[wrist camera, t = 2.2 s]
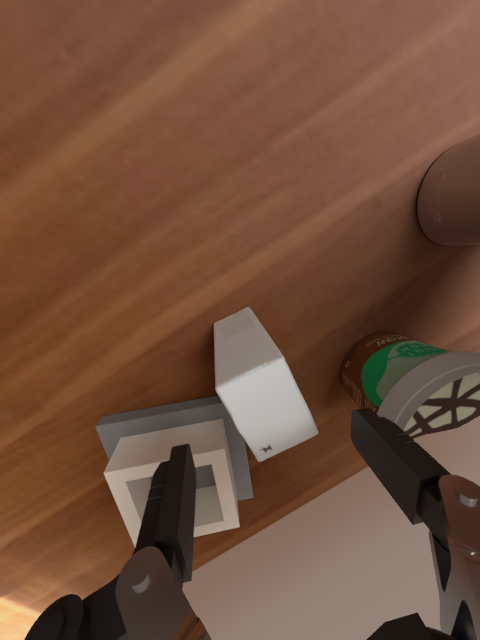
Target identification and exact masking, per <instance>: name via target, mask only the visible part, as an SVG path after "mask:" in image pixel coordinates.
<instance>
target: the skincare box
mask: <svg viewBox="0 0 480 640" xmlns="http://www.w3.org/2000/svg"><path fill="white" fill-rule="evenodd" d="M214 358H215V390H216V392H217V394H218V396H219V397H220V399H221V401H222V402H223V404H224V405H225V407H226V409H227V411H228V412H229V414H230V416H231V417H232V419H233V421H234V424H235V426H236V428H237V429H238V431H239V433H240V434H241V435H242V436H243V438H244V439H245V441H246V443H247V444H248V446H249V447H250V449H251V451H252V452H253V454H254V455H255V457H256V459H257V460H258V461H259V462H261V461H264V460H266V459H268V458H270V457H272V456H274V455H276V454H278V453H280V452H282V451H284V450H287V449H289V448H291V447H293V446H295V445H297V444H299V443H302V442H304V441H306V440H308V439H310V438H312V437H313V436H315V435H317V434H318V430H317V427H316V425H315V423H314V420H313V418H312V415H311V413H310V411H309V409H308V406H307V404H306V402H305V401H304V399H303V396H302V394H301V392H300V390H299V388H298V386H297V384H296V382H295V380H294V378H293V376H292V374H291V371H290V369H289V367H288V365H287V363H286V361H285V358H284V356H283V355H282V354H281V352H280V351H279V349H278V348H277V346H276V345H275V343H274V342H273V340H272V339H271V337H270V336H269V335H268V333H267V332H266V330H265V329H264V327H263V326H262V324H261V323H260V321H259V320H258V319H257V317H256V316H255V314H254V313H253V311H252V310H251V309H250V307H246V308H244V309H242V310H240V311H238V312H236V313H234V314H232V315H230V316H228V317H226V318H224V319H222V320H220V321H217V322H215V323H214Z"/></svg>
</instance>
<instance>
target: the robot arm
mask: <svg viewBox="0 0 480 640" xmlns="http://www.w3.org/2000/svg"><path fill="white" fill-rule="evenodd" d="M417 213H418V219H419V223H420V226H421V228H422V230H423V232H424V233H425V235H426V236H427V237H428V238H429V239H430V240H432V241H433V242H434V243H437V244H440V245H445V246H474V245H480V134H479V135H477V136H475V137H472V138H470V139H468V140H465V141H463V142H461V143H459V144H456V145H454V146H453V147H451V148H450V149H448V150H446V151H445V152H444V153H443V154H442V155H441V156H440V157H439V158H438V159H437V160H436V161H435V162H434V164H433V165H432V166H431V168H430V169H429V171H428V173H427V174H426V176H425V178H424V180H423V183H422V186H421V188H420V192H419V197H418V204H417ZM351 438H352V442H353V444H354V446H355V448H356V449H357V451H358V452H359V453H360V455H361V456H362V457H363V459H364V460H365V461H366V463H367V464H368V465H369V467H370V468H371V469H372V471H373V472H374V473H375V475H376V476H377V477H378V479H379V480H380V481H381V483H382V484H383V485H384V487H385V488H386V489H387V491H388V492H389V493H390V495H391V496H392V498H393V499H394V500H395V502H396V503H397V504H398V506H399V507H400V508H401V510H402V511H403V512H404V514H405V515H406V516H407V518H408V519H409V520H410V522H411V523H412V524H413V525H414V524H418V523H421V522H424V523H425V524H426V525H427V527H428V528H429V539H430V544H431V550H432V556H433V562H434V568H435V574H436V580H437V585H438V591H439V599H440V626H441V631H439V630H436V629H433V628H429V627H425V625H424V623H423V622H422V620H421V618H420V616H419V614H418V613H414V614H411V615H408V616H404V617H401V618H398V619H394V620H391V621H387V622H385V623H384V624H383V625H382V626H380V627H379V628H378V629H377V630H376V631H375V632H374V633H373V634H372V635H371V636H370V637H369V638H368V639H367V640H480V486H478V485H477V484H475V483H474V482H472V481H470V480H468V479H466V478H464V477H460V476H457V475H451V474H450V473H449V472H448V471H447V470H446V469H444V467H442V466H441V465H440V464H439V463H438V462H437V461H436V460H435V459H434V458H433V457H431V455H429V454H428V453H427V452H426V451H425V450H424V449H422V447H421V446H419V444H417V443H416V442H414V440H413V439H412V438H411V437H410V436H409V435H408V434H406V433H405V432H404V431H403V430H402V429H401V428H400V427H399V426H398V425H397V424H396V423H394V422H392V421H390V420H389V419H387V418H385V417H379V416H378V415H377V414H376V413H375V412H374V411H373V410H372V409H370V408H363V409H358V410H354V411H352V420H351ZM195 499H196V470H195V465H194V461H193V456H192V452H191V448H190V445H189V443H188V444H183V445H178V446H173V447H172V449H171V454H170V459H169V461H165V462H161V463H160V464H159V466H158V468H157V469H156V471H155V472H154V474H153V478H152V482H151V486H150V490H149V494H148V501H147V502H146V506H145V510H144V515H143V519H142V523H141V527H140V531H139V535H138V539H137V543H136V547H135V550H134V552H133V555H132V557H131V558H130V559H129V560H128V561H127V562H126V564H125V565H124V567H123V569H122V571H121V573H120V574H119V575H118V576H117V577H116V578H114V579H113V580H112V581H111V582H109V583H108V584H106V585H105V586H103V587H102V588H100V589H99V590H97V591H96V592H94V593H92V594H91V595H89V596H88V597H86V598H85V599H83V600H81V598H80V597H79V596H78V595H75V594H70V595H66V596H63V597H61V598H60V599H58V600H56V601H55V602H54V603H52V604H51V605H50V606H49V607H48V608H47V609H46V610H45V611H44V612H43V613H42V614H41V615H40V616H39V618H38V619H37V620H36V621H35V623H34V624H33V626H32V627H31V629H30V631H29V632H28V634H27V636H26V638H25V640H212V639H211V637H210V636H209V634H208V632H207V630H206V629H205V627H204V625H203V623H202V622H201V620H200V619H199V618H198V617H197V616H196V614H195V613H194V611H193V609H192V608H191V606H190V604H189V602H188V600H187V598H186V596H185V594H184V593H183V591H182V586H183V583H184V582H188V581H191V577H192V558H193V538H194V519H195Z"/></svg>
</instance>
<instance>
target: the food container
mask: <svg viewBox="0 0 480 640" xmlns="http://www.w3.org/2000/svg"><path fill="white" fill-rule="evenodd" d="M340 382H341V384H342V385H343V387H344V388H345V389H346V391H347V392H348V393H349V395H350V396H351V397H352V399H353V400H354V401H355V403H356V404H357V405H358V407H359V408H360V409H363V408H370V409H372V410H373V411H374V412H375V413H376V414H377V415H378V416H379V417H385V418H387V419H389V420H390V421H392V422H394V423H396V424H397V425H398V426H399V427H400V428H401V429H402V430H403V431H404V432H405V433H406V434H408V435H409V436H410V437H411V438H415V437H419V436H422V435H425V434H430V433H435V432H440V431H446V430H450V429H454V428H458V427H460V426H462V425H463V424H466V423H468V422H469V421H471V420H473V419H474V418H476V417H478V416H480V354H479V353H475V352H465V351H459V352H449V351H446V350H443V349H440V348H437V347H434V346H431V345H428V344H425V343H423V342H420V341H417V340H414V339H411V338H408V337H405V336H402V335H399V334H396V333H392V332H388V331H387V332H377V333H373V334H370V335H368V336H366V337H364V338H362V339H361V340H359V341H358V342H357V343H356V344H355V345H354V346H353V347H352V348H351V349H350V350H349V351H348V353H347V354H346V356H345V358H344V360H343V363H342V365H341V370H340Z"/></svg>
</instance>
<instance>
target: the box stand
mask: <svg viewBox="0 0 480 640" xmlns="http://www.w3.org/2000/svg"><path fill="white" fill-rule="evenodd" d="M95 427H96V430H97V432H98V435H99V437H100V440H101V442H102V445H103V447H104V450H105V452H106V454H107V457H108V459H109V463H108V465H107V467H106V469H105V471H104V475H105V478H106V480H107V483H108V485H109V487H110V490H111V492H112V494H113V497H114V499H115V501H116V504H117V506H118V508H119V511H120V513H121V516H122V518H123V520H124V523H125V525H126V527H127V530H128V532H129V534H130V537H131V539H132V541H133V544H134V546H135V547H136V543H137V539H138V535H139V531H140V527H141V523H142V519H143V515H144V510H145V506H146V502H147V501H148V494H149V490H150V486H151V482H152V478H153V474H154V472H155V471H156V469H157V468H158V466H159V464H160V463H161V462H165V461H169V459H170V454H171V449H172V447H173V446H178V445H183V444H188V443H189V445H190V448H191V452H192V456H193V461H194V465H195V470H196V499H195V519H194V537H198V536H202V535H207V534H211V533H215V532H220V531H224V530H229V529H233V528H237V527H240V524H239V514H238V504H237V501H240V500H245V499H250V498H254V497H253V491H252V484H251V478H250V472H249V465H248V459H247V452H246V446H245V439H244V438H243V436H242V435H241V434H240V433H239V431H238V429H237V428H236V426H235V424H234V421H233V419H232V417H231V416H230V414H229V412H228V411H227V409H226V407H225V405H224V404H223V402H222V401H221V399H220V397H219V396H218V395H217V396H211V397H206V398H200V399H195V400H189V401H184V402H178V403H173V404H167V405H162V406H156V407H151V408H145V409H140V410H134V411H129V412H123V413H118V414H112V415H107V416H102V417H101V418H100V420H99V422H98V423H97V425H96V426H95Z"/></svg>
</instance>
